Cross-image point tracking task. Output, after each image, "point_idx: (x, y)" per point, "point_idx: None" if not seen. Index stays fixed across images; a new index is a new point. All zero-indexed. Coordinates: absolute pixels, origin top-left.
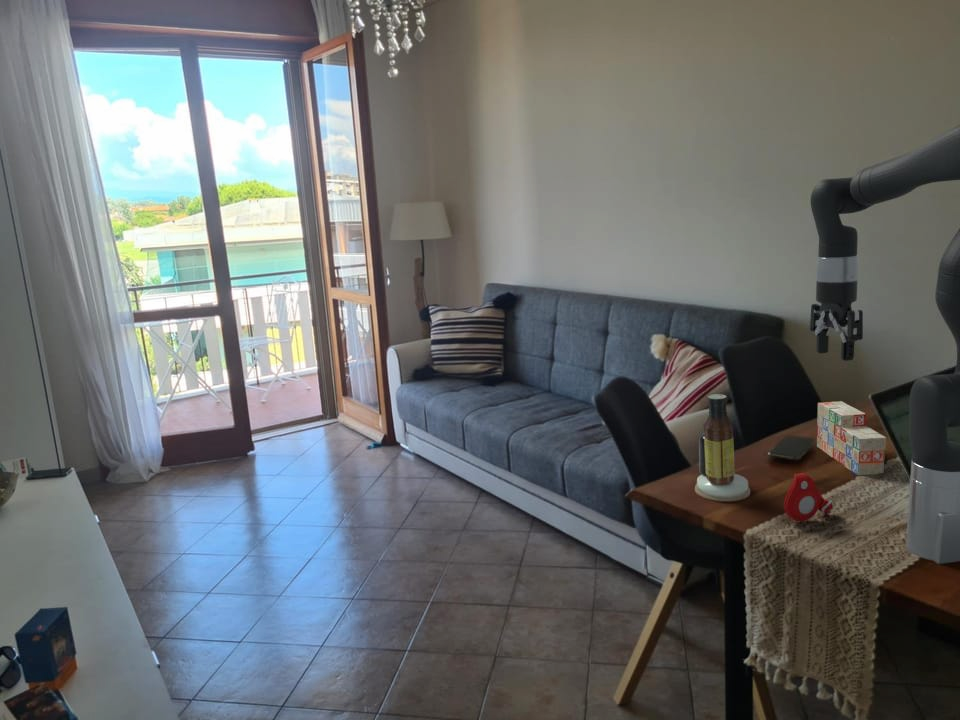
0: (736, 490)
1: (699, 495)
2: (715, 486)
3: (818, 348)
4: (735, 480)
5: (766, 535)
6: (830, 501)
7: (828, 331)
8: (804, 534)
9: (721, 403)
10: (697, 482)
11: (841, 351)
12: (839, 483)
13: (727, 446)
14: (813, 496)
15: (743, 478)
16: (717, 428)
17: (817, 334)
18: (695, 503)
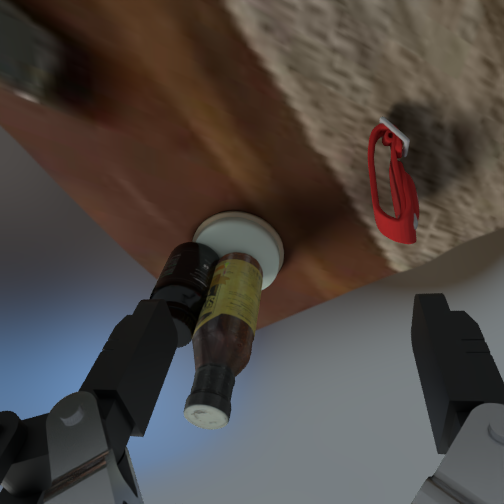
0: (277, 254)
1: None
2: None
3: (169, 363)
4: (236, 243)
5: (421, 251)
6: (407, 143)
7: (105, 427)
8: (440, 198)
9: (230, 407)
10: None
11: (424, 388)
12: (218, 10)
13: (254, 319)
14: (416, 192)
15: (227, 228)
16: (246, 364)
17: (128, 452)
18: (281, 297)
